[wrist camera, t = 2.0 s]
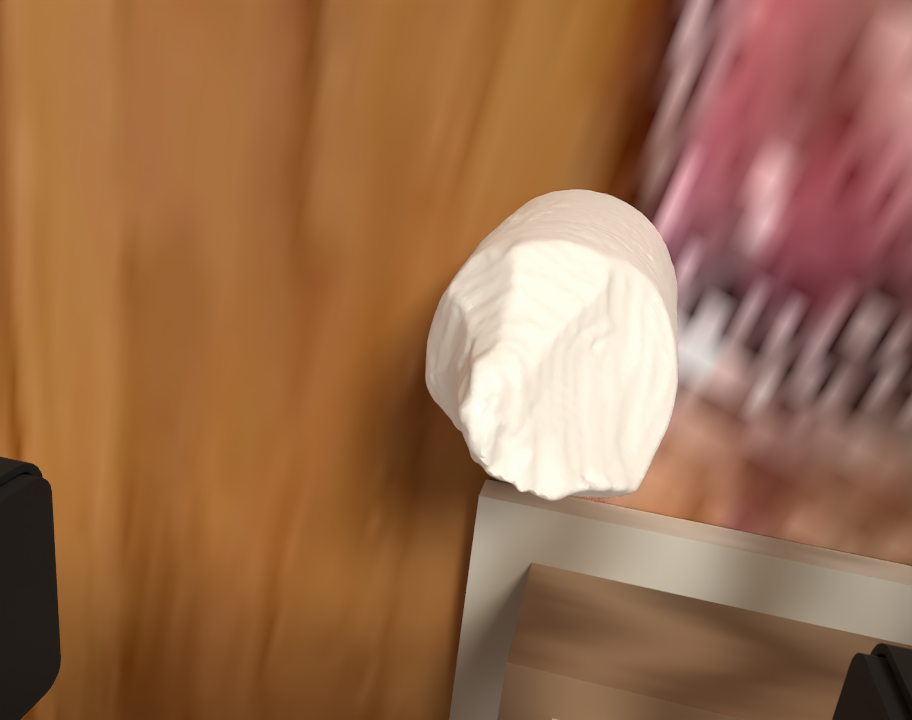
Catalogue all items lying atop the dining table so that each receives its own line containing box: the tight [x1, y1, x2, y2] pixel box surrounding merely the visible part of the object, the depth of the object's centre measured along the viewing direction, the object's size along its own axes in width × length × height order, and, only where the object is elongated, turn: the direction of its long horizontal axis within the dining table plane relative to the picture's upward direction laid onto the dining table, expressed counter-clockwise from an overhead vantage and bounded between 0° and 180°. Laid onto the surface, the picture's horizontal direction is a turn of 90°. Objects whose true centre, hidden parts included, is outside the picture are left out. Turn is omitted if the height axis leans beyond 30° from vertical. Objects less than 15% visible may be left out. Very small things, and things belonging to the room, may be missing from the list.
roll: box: [425, 189, 678, 501], centre depth 20 cm, size 6×12×6 cm
